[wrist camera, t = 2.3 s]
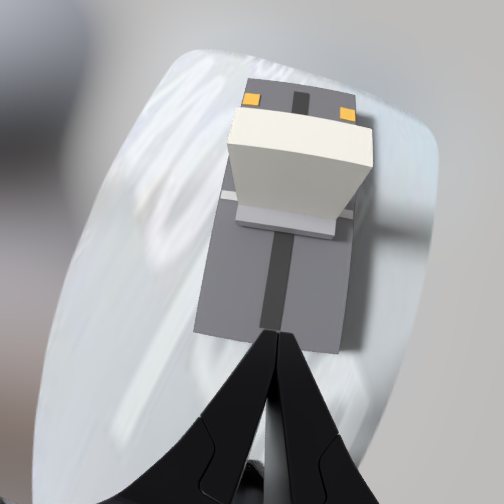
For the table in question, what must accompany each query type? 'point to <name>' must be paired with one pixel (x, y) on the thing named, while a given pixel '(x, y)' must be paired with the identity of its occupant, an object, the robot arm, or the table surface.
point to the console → (278, 250)
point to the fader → (295, 170)
